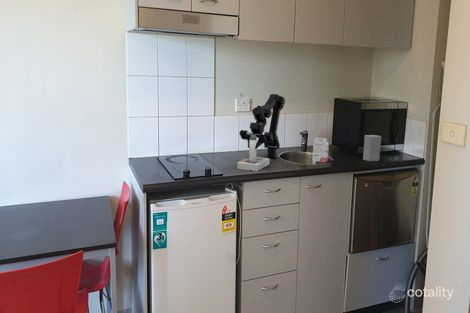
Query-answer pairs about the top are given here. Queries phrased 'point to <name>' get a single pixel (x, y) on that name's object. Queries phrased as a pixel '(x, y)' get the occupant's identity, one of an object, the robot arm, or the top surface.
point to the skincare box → (372, 148)
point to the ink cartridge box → (320, 150)
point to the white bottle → (252, 148)
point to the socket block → (253, 164)
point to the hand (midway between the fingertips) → (252, 148)
